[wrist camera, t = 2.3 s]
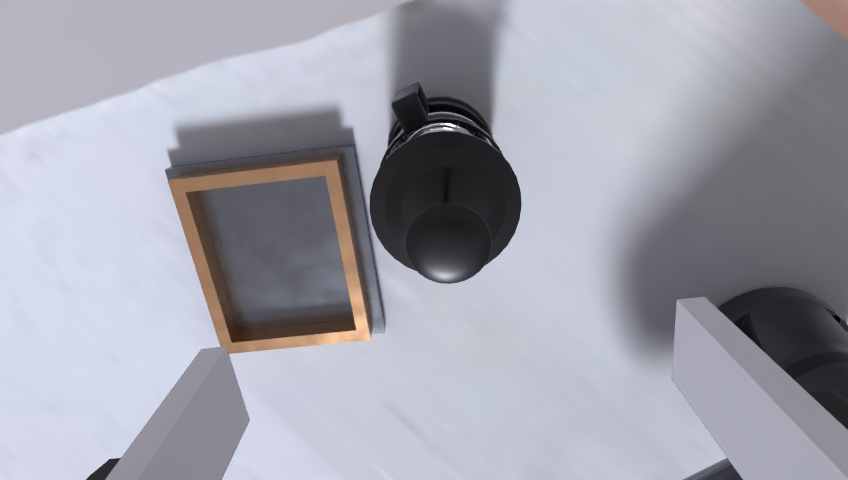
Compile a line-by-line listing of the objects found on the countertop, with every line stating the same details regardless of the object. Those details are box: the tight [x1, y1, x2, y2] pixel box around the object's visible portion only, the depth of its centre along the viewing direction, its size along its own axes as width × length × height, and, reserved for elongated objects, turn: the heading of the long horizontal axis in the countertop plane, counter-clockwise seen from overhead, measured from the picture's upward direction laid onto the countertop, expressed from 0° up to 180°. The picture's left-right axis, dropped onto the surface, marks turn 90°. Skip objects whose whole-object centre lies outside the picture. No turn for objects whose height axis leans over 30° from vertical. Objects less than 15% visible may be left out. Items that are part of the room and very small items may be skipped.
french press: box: [370, 83, 521, 284], centre depth 34 cm, size 12×9×23 cm
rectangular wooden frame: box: [165, 144, 385, 354], centre depth 48 cm, size 17×19×3 cm
